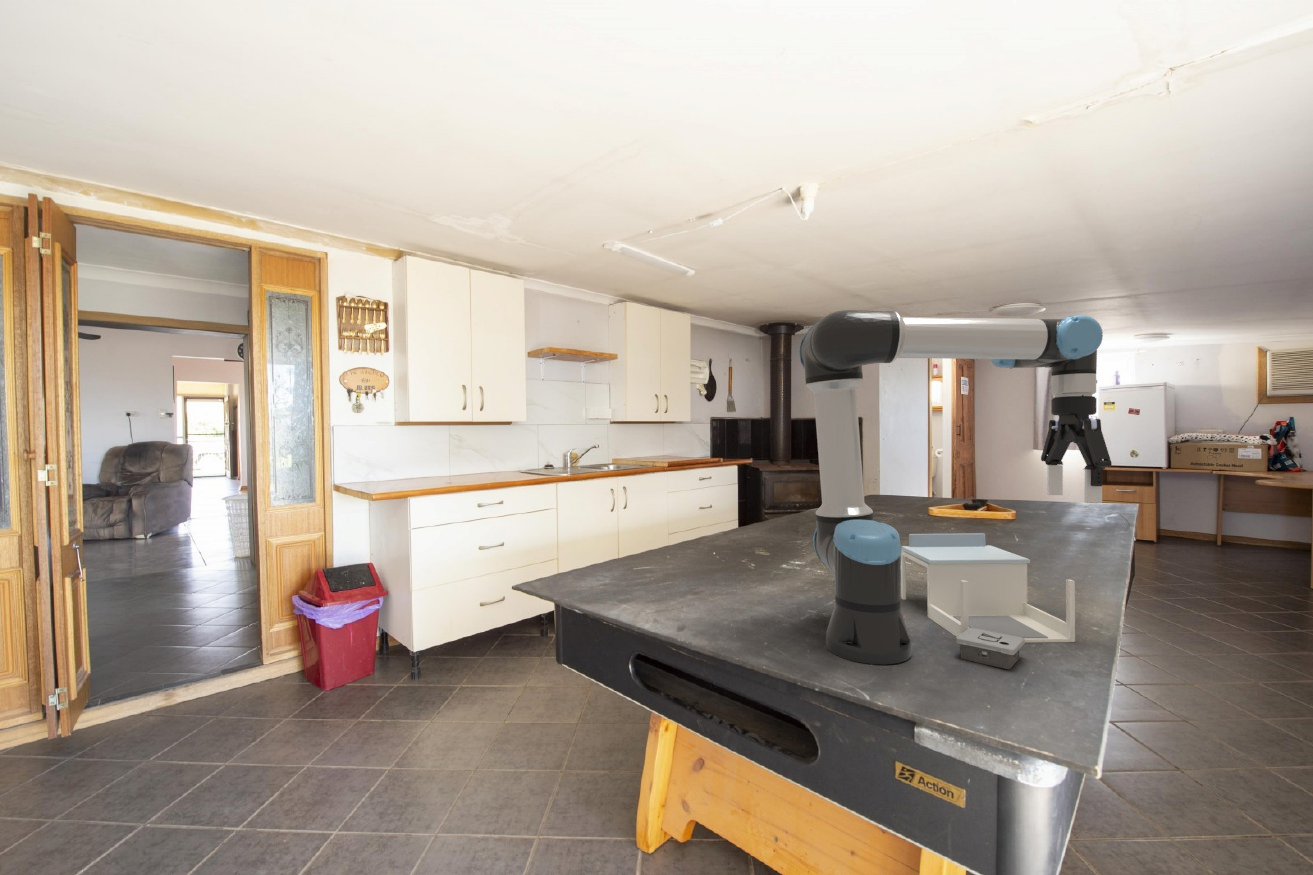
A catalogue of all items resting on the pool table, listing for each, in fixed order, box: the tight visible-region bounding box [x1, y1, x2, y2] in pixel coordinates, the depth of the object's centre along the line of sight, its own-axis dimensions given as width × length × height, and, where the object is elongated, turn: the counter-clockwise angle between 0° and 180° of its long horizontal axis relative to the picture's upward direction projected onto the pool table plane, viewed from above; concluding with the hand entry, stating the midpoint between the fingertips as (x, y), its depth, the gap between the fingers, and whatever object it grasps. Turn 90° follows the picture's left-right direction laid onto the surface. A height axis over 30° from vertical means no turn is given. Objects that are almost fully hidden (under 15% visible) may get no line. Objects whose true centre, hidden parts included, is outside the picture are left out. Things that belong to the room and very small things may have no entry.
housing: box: [901, 550, 1076, 643], centre depth 126 cm, size 22×29×12 cm
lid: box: [901, 532, 1031, 564], centre depth 132 cm, size 22×15×4 cm
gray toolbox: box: [955, 628, 1025, 670], centre depth 103 cm, size 9×5×9 cm
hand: (1072, 498), depth 118 cm, fingers open, 13 cm apart
